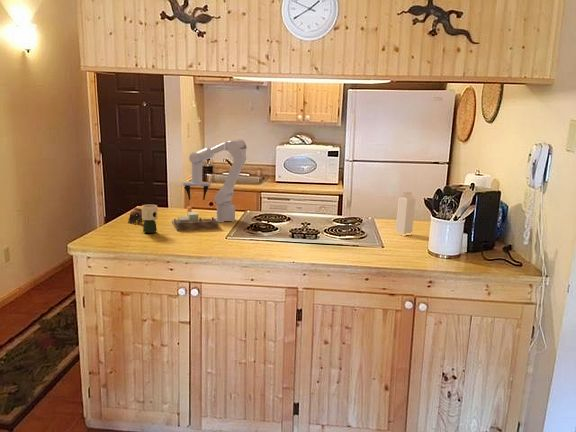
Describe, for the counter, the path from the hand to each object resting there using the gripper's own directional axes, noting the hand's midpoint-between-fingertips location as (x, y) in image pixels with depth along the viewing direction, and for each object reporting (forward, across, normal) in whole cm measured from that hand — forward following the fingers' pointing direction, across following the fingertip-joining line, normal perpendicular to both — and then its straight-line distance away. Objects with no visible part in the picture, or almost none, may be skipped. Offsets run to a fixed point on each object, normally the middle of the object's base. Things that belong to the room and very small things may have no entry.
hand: (196, 199), depth 273 cm
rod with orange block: (+8, -2, -12) cm, 15 cm away
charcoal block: (+9, -5, -26) cm, 28 cm away
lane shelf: (+9, 0, -21) cm, 23 cm away
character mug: (+10, -20, -35) cm, 41 cm away
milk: (+10, +106, -33) cm, 111 cm away
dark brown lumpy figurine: (+10, -28, -15) cm, 34 cm away
